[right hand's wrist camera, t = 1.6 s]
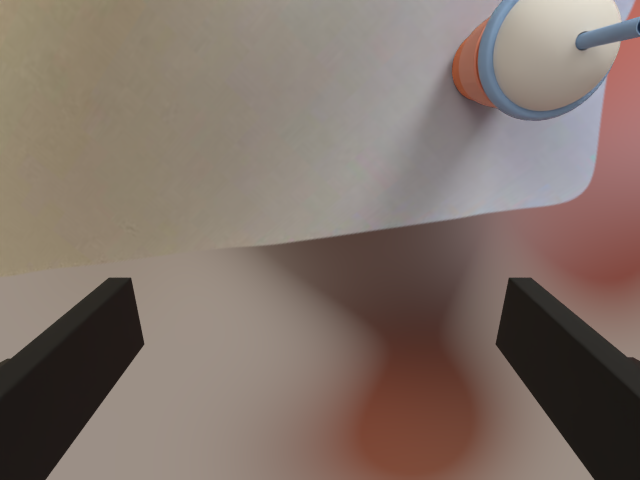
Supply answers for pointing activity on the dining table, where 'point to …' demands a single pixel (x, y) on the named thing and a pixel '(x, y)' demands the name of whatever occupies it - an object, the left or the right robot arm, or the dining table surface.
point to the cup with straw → (541, 55)
